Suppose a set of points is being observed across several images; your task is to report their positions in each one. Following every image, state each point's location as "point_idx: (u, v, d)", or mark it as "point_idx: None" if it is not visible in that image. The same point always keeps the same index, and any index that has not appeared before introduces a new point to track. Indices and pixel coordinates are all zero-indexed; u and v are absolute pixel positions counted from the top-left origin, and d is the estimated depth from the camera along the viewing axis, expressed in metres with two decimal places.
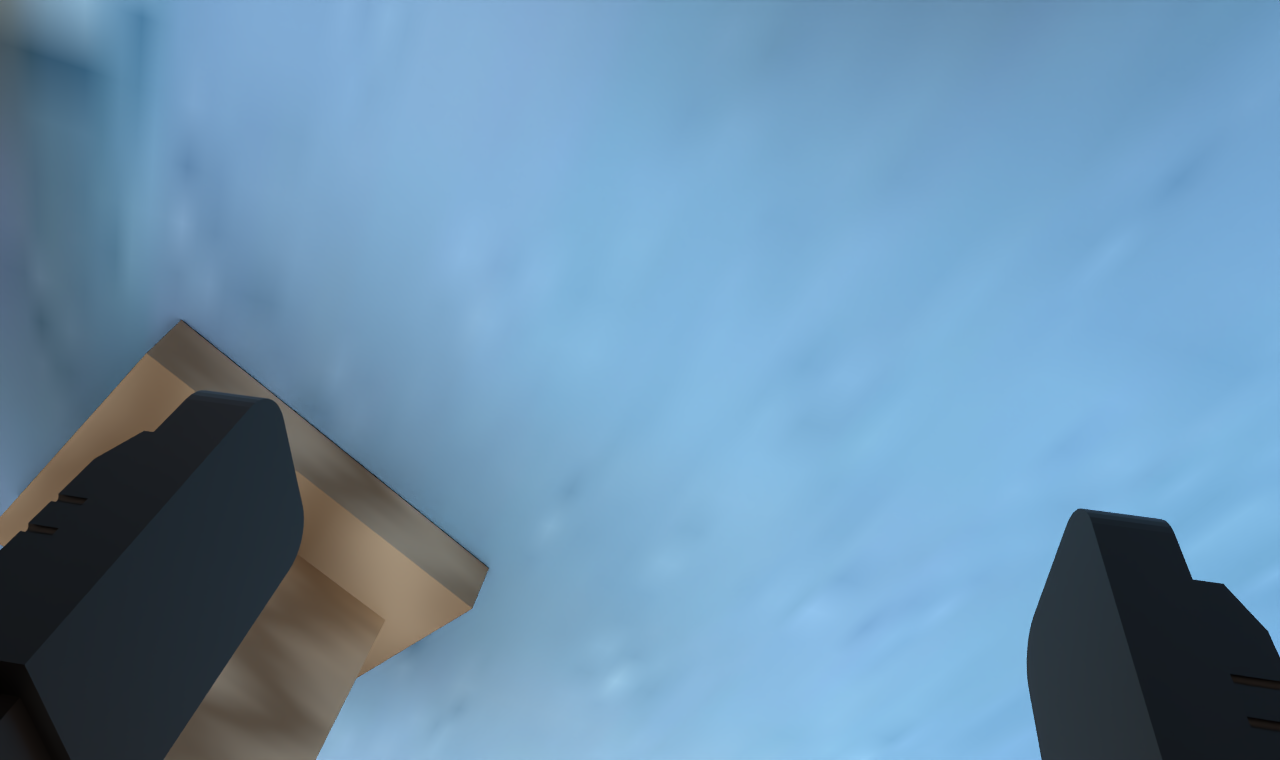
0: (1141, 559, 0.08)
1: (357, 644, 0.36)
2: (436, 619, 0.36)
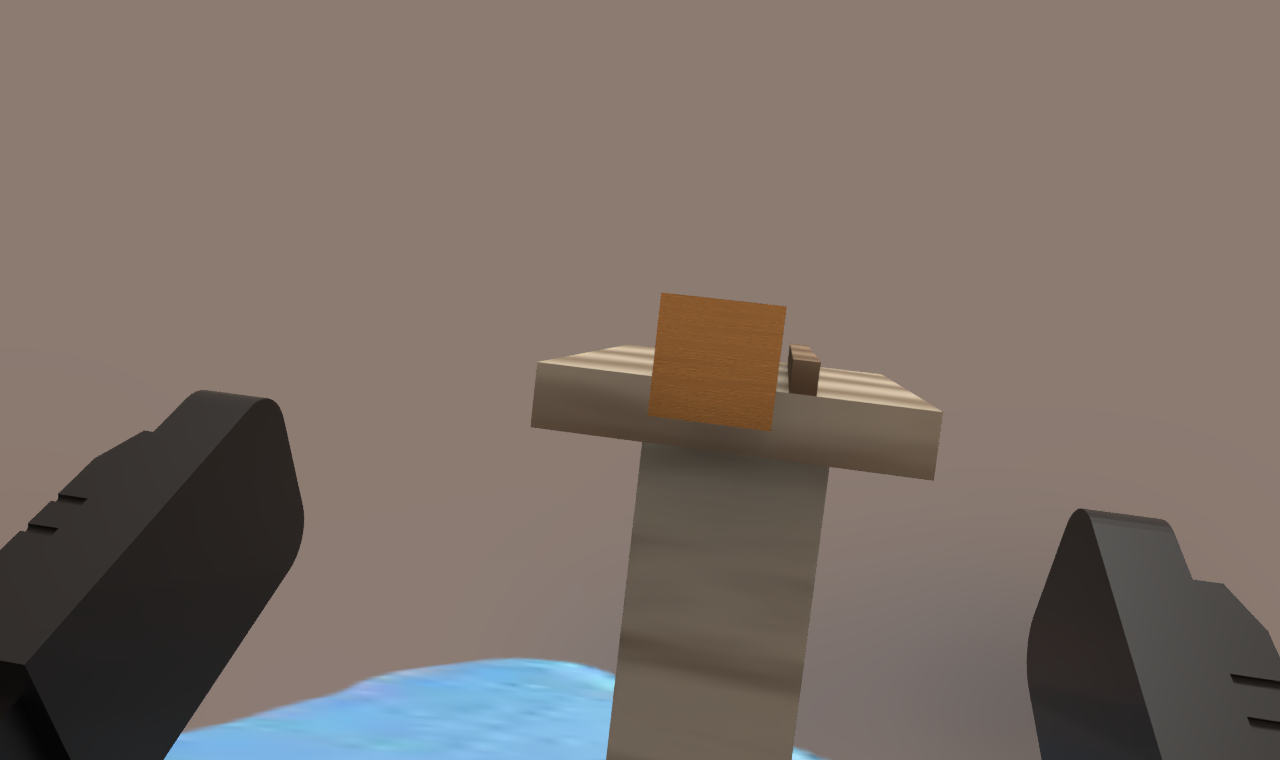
0: (1141, 559, 0.08)
1: None
2: None
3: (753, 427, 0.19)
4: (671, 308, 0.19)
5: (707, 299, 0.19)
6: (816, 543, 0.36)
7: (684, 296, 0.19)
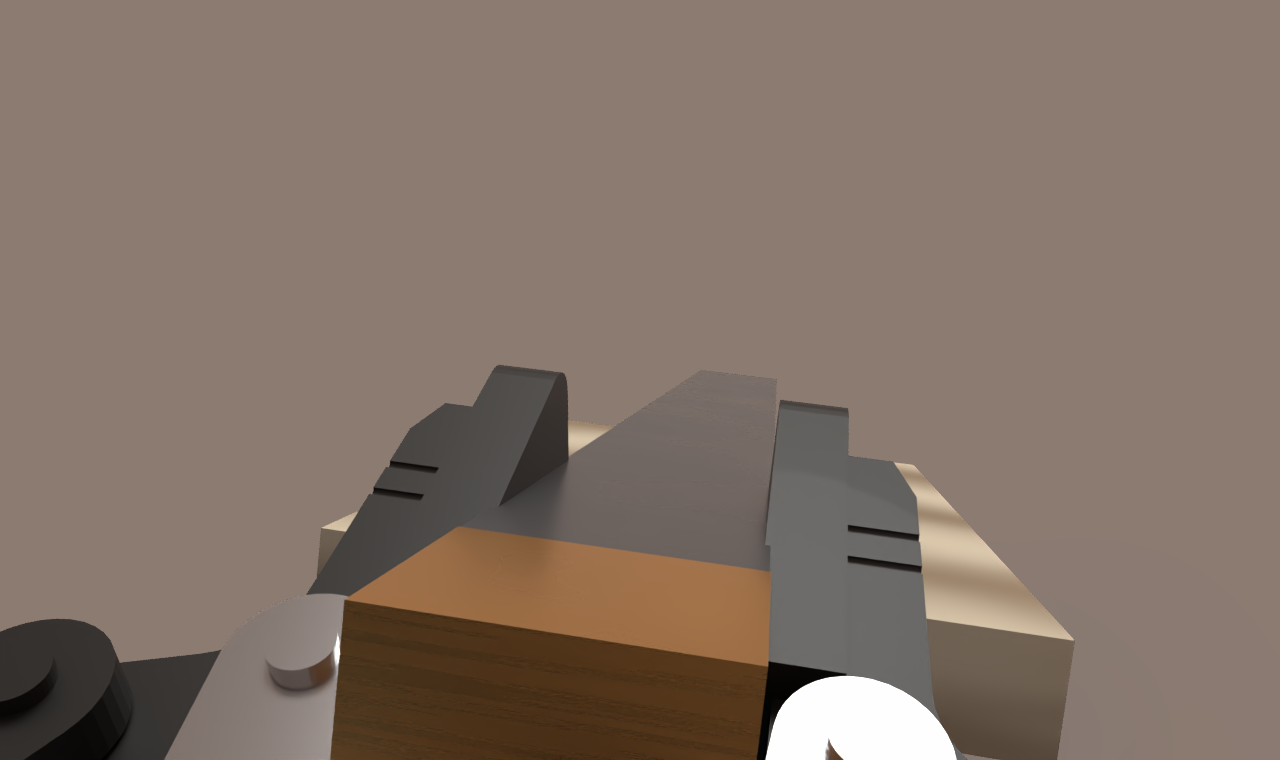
0: (810, 435, 0.09)
1: None
2: None
3: None
4: (379, 653, 0.06)
5: (497, 628, 0.06)
6: None
7: (418, 618, 0.06)
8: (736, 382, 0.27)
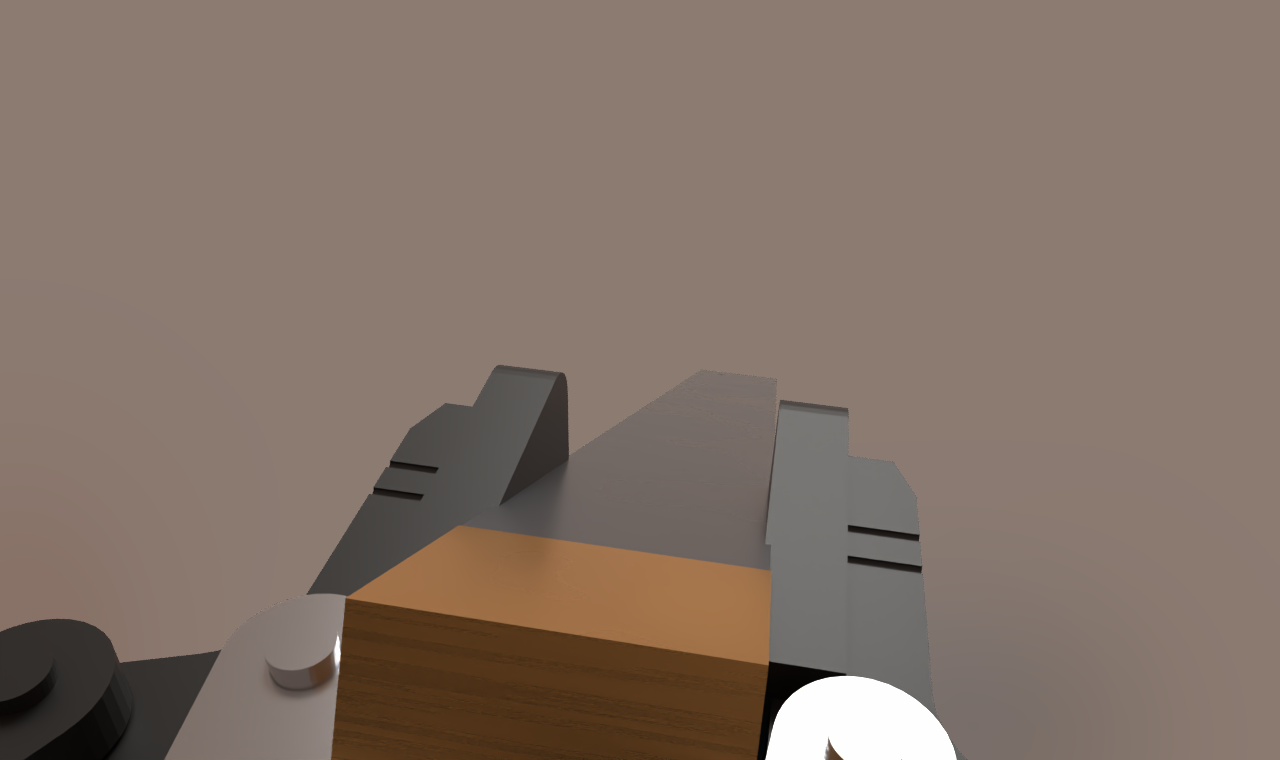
0: (810, 435, 0.09)
1: None
2: None
3: None
4: (379, 651, 0.06)
5: (498, 626, 0.06)
6: None
7: (419, 616, 0.06)
8: (736, 382, 0.27)
